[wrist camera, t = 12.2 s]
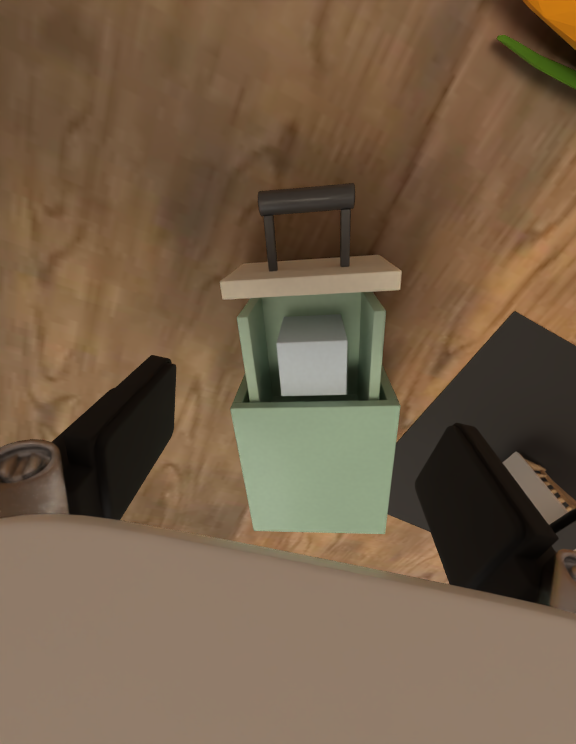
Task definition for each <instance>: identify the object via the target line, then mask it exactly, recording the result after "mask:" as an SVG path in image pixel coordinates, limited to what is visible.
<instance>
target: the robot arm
mask: <svg viewBox="0 0 576 744" xmlns="http://www.w3.org/2000/svg"><path fill="white" fill-rule="evenodd" d="M175 387H176V365H175V364H171V360H170V359H168V358H163V357H159V356H154V355H151V356H150V357H149V358H148V359H147V360H145V361H144V362H143V363H142V364H141V365H140V366H139V367H138V368H137V369H136V370H134V371H133V372H132V373H131V374H130V375H129V376H128V377H127V378H126V379H125V380H123V381H122V382H121V383H120V384H119V385H118V386H117V387H116V388H113V389H111V390H110V391H108V392H107V393H106V394H105V395H104V396H103V397H102V398H100V399H99V400H98V401H97V402H96V403H95V404H94V405H93V406H91V407H90V408H89V409H88V410H87V411H86V412H85V413H84V414H83V415H81V416H80V417H79V418H78V419H77V420H76V421H75V422H74V423H72V424H71V425H70V426H69V427H68V428H67V429H66V430H65V431H64V432H62V433H61V434H60V435H59V436H58V437H57V438H56V439H55V440H53V441H52V442H49V441H45V440H37V439H30V440H22V441H17V442H14V443H10V444H7V445H4V446H2V447H0V744H576V551H573V550H568V549H562V550H559V551H558V552H557V553H556V551H555V550H554V549H553V547H552V545H553V544H554V543H555V542H556V541H557V540H558V539H559V538H558V536H557V535H556V534H555V532H554V531H553V530H552V528H551V527H550V526H549V524H548V523H547V522H546V520H545V519H544V518H543V516H542V515H541V514H540V512H539V511H538V510H537V508H536V507H535V506H534V504H533V503H532V502H531V500H530V499H529V498H528V496H527V495H526V494H525V492H524V491H523V490H522V488H521V487H520V486H519V484H518V483H517V482H516V480H515V479H514V477H513V476H512V475H511V473H510V472H509V471H508V469H507V468H506V467H505V465H504V464H503V463H502V461H501V460H500V459H499V457H498V456H497V455H496V453H495V452H494V451H493V449H492V448H491V447H490V445H489V444H488V443H487V441H486V440H485V439H484V437H483V436H482V435H481V433H480V432H479V431H478V429H477V428H476V427H474V426H470V425H466V424H461V423H455V424H453V425H452V426H449V427H447V429H446V430H445V432H444V433H443V435H442V437H441V439H440V440H439V442H438V444H437V445H436V447H435V449H434V450H433V452H432V454H431V455H430V457H429V459H428V460H427V462H426V464H425V465H424V467H423V469H422V470H421V472H420V474H419V475H418V477H417V479H416V481H415V490H416V493H417V496H418V499H419V501H420V504H421V507H422V510H423V512H424V515H425V518H426V521H427V523H428V526H429V529H430V532H431V534H432V537H433V540H434V543H435V545H436V548H437V551H438V553H439V556H440V559H441V562H442V564H443V567H444V570H445V573H446V575H447V578H448V581H449V584H450V585H449V584H444V583H440V582H435V581H430V580H425V579H420V578H415V577H411V576H406V575H401V574H396V573H391V572H386V571H381V570H376V569H371V568H366V567H361V566H356V565H351V564H346V563H341V562H336V561H331V560H326V559H321V558H316V557H311V556H306V555H301V554H296V553H291V552H286V551H281V550H276V549H271V548H266V547H261V546H256V545H251V544H245V543H240V542H235V541H230V540H225V539H220V538H215V537H209V536H204V535H199V534H194V533H189V532H184V531H178V530H173V529H167V528H161V527H156V526H150V525H144V524H139V523H133V522H127V521H122V520H120V519H121V517H122V516H123V514H124V513H125V511H126V509H127V508H128V506H129V505H130V503H131V501H132V500H133V498H134V496H135V495H136V493H137V492H138V490H139V488H140V487H141V485H142V484H143V482H144V480H145V479H146V477H147V475H148V474H149V472H150V471H151V469H152V467H153V466H154V464H155V463H156V461H157V459H158V458H159V456H160V454H161V453H162V451H163V450H164V448H165V446H166V445H167V443H168V442H169V440H170V438H171V436H172V433H173V430H174V411H175Z"/></svg>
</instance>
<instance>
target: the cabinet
mask: <svg viewBox="0 0 576 744" xmlns="http://www.w3.org/2000/svg"><path fill="white" fill-rule="evenodd" d="M230 410H231V415H232V420H233V426H234V431H235V436H236V441H237V446H238V451H239V457H240V462H241V467H242V472H243V477H244V482H245V488H246V493H247V498H248V503H249V508H250V513H251V519H252V524H253V529H254V531H281V532H324V533H366V534H385V530H386V521H387V513H388V505H389V496H390V488H391V480H392V472H393V463H394V455H395V447H396V439H397V430H398V422H399V414H400V404H399V401H398V399H397V397H396V395H395V392H394V390H393V388H392V386H391V383H390V381H389V379H388V377H387V374H386V372H385V370H384V367H383V365H382V369H381V381H380V393H379V400H370V401H317V402H263V403H250V400H249V393H248V387H247V381H246V374H245V375H244V377H243V380H242V382H241V384H240V387H239V389H238V392H237V394H236V396H235V399H234V401H233V403H232V406H231V408H230Z"/></svg>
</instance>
